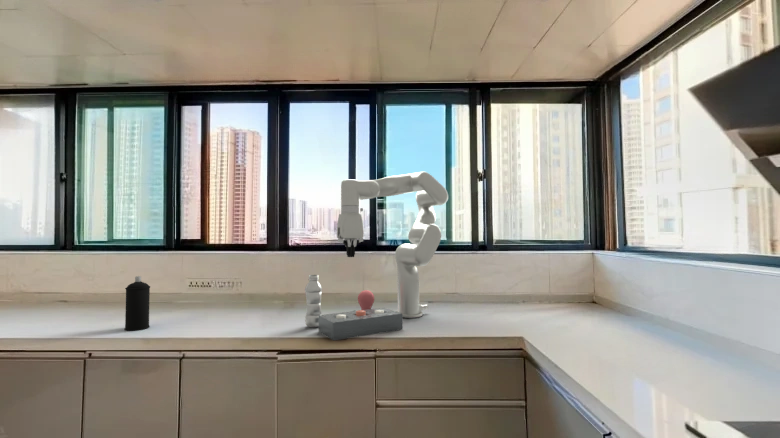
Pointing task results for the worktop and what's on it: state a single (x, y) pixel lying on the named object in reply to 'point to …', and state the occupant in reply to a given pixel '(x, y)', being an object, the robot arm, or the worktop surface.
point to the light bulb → (366, 299)
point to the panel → (359, 323)
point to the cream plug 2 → (379, 311)
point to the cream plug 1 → (340, 316)
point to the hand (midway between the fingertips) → (350, 256)
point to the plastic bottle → (313, 301)
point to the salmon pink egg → (360, 313)
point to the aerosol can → (137, 305)
